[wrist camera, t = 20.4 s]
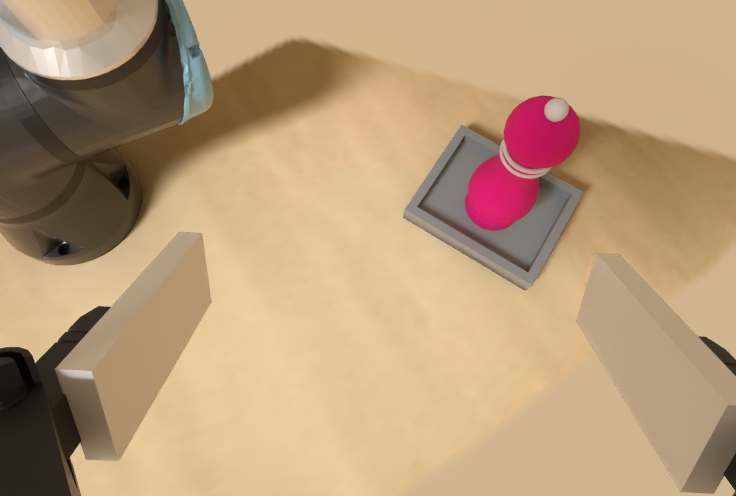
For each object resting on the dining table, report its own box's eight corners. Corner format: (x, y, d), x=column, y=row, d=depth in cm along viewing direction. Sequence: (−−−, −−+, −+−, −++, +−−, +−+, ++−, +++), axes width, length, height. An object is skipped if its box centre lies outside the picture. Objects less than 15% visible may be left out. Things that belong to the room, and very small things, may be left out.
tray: (403, 217, 55) (404, 209, 52) (457, 135, 58) (461, 124, 56) (524, 290, 52) (532, 285, 50) (574, 200, 56) (583, 191, 53)
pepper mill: (476, 168, 56) (534, 49, 37) (532, 194, 55) (622, 87, 36) (450, 217, 54) (497, 119, 35) (507, 246, 53) (589, 161, 34)
